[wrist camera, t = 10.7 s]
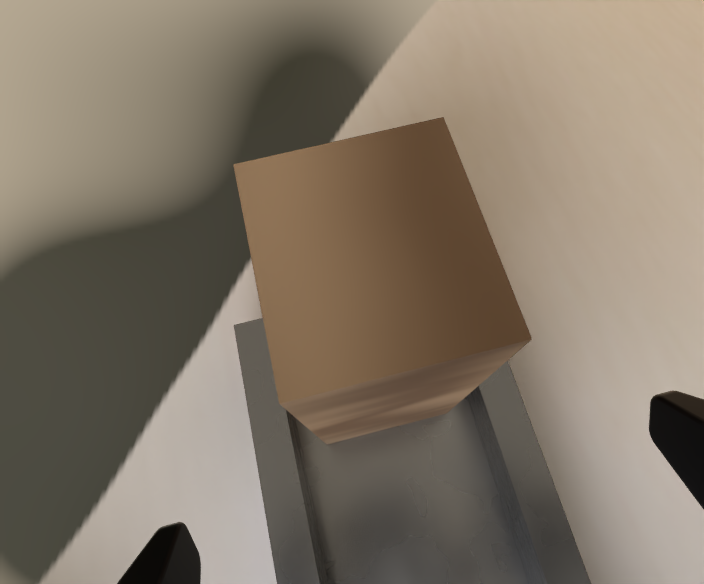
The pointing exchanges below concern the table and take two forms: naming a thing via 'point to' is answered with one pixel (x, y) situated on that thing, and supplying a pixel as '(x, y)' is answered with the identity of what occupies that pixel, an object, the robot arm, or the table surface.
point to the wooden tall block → (376, 280)
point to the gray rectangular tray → (409, 492)
